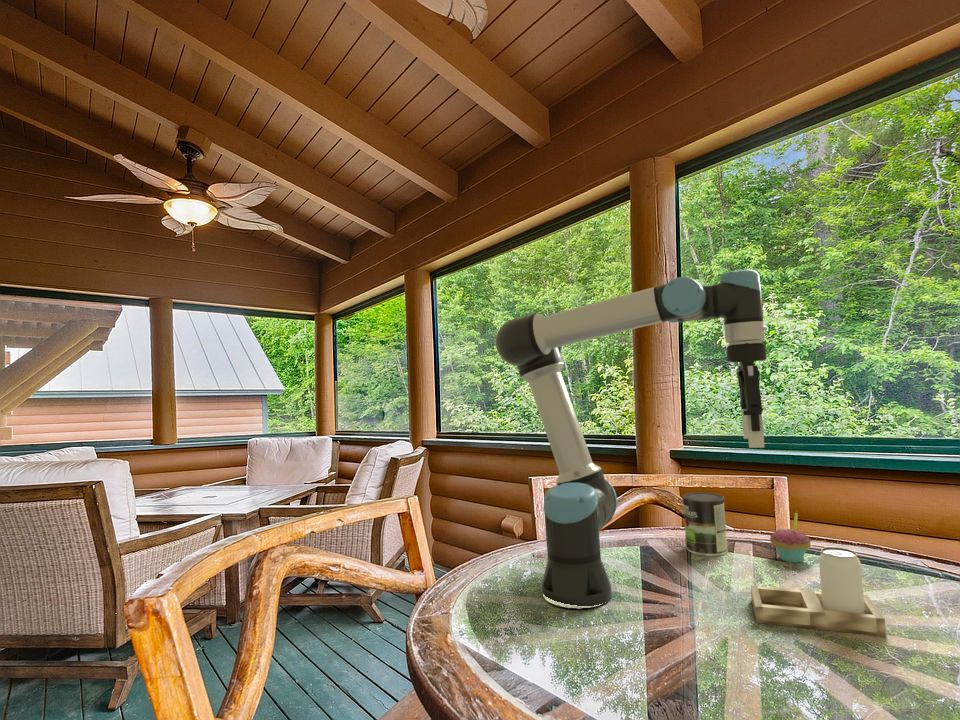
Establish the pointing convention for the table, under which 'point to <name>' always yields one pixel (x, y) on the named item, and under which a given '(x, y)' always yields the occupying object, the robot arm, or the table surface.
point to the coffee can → (705, 523)
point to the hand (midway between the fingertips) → (753, 442)
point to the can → (841, 580)
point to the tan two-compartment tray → (812, 611)
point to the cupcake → (791, 543)
